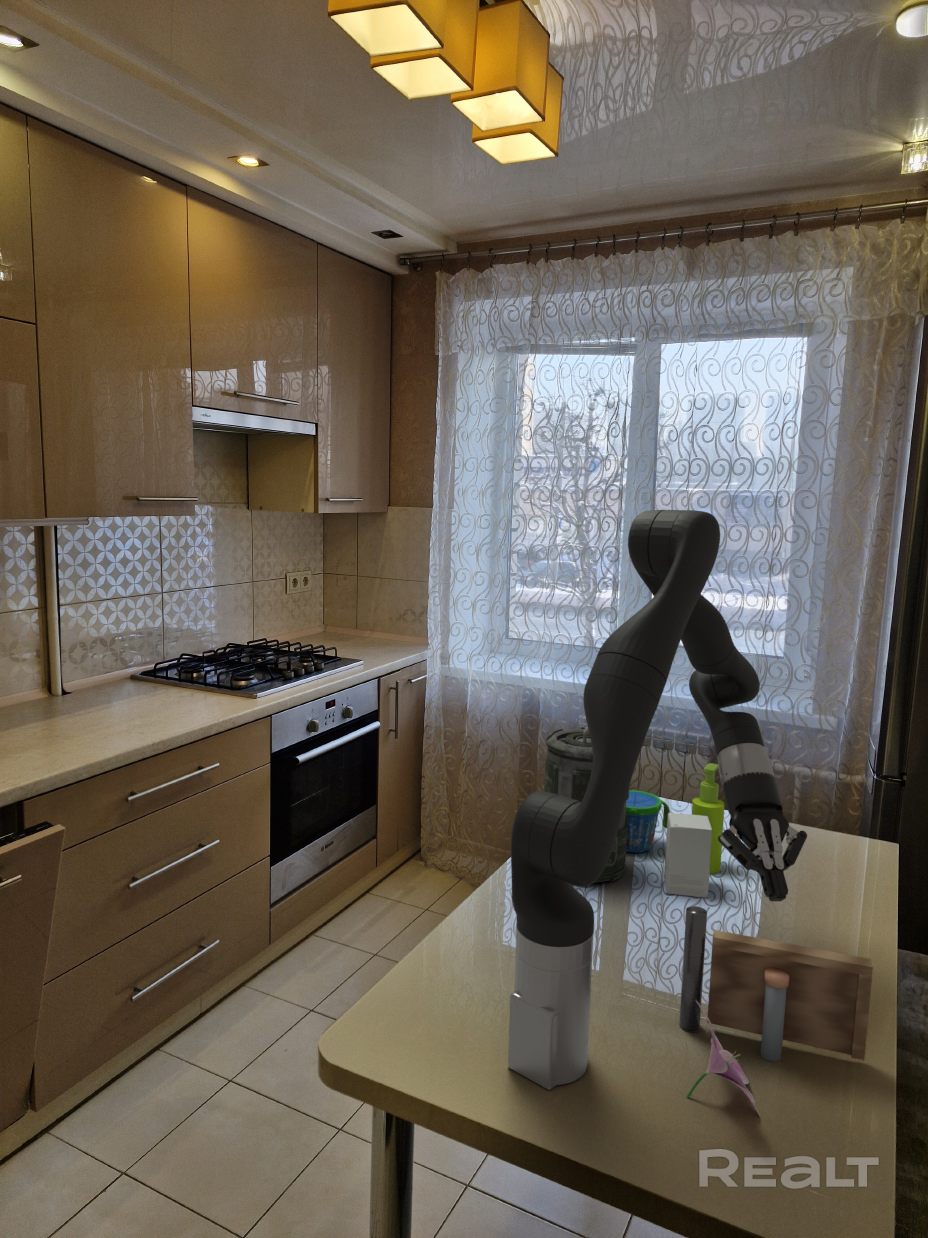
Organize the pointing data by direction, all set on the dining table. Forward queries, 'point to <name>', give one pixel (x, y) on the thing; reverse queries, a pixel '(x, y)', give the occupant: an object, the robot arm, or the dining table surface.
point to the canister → (580, 785)
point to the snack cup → (643, 819)
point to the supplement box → (687, 855)
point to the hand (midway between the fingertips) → (778, 900)
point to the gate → (792, 991)
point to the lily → (724, 1066)
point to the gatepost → (693, 968)
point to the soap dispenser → (711, 813)
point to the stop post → (774, 1013)
